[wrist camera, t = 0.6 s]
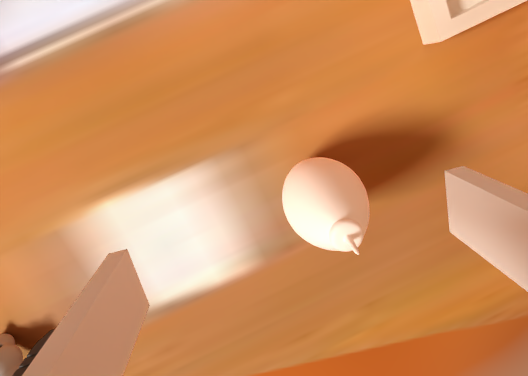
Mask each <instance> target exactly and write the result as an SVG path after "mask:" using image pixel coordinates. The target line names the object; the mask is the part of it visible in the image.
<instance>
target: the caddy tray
mask: <svg viewBox="0 0 528 376" xmlns="http://www.w3.org/2000/svg"><path fill="white" fill-rule="evenodd" d="M525 1H527V0H410V2H411V5H412V9H413V12H414V15H415V18H416V22H417V25H418V28H419V32H420V35H421V38H422V42H423V45H424V44H430V43H437V42H441V41H444V40H446V39H448V38H450V37H452V36H454V35H456V34H458V33H460V32H462V31H464V30H466V29H469V28H471V27H473V26H475V25H477V24H479V23H481V22H483V21H485V20H487V19H489V18H492V17H494V16H496V15H498V14H500V13H502V12H504V11H506V10H508V9H510V8H512V7H515V6H517V5H519V4H521V3H523V2H525Z"/></svg>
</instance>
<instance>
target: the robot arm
mask: <svg viewBox="0 0 528 376" xmlns="http://www.w3.org/2000/svg"><path fill="white" fill-rule="evenodd" d="M445 182H446V194H447V206H448V217H449V229H450V232H451V233H452V234H453V235H455V236H456V237H457V238H458V239H460V240H461V241H462V242H464V243H465V244H466V245H468V246H469V247H470V248H471V249H473V250H474V251H475V252H477V253H478V254H479V255H481V256H482V257H483V258H484V259H486V260H487V261H488V262H490V263H491V264H492V265H494V266H495V267H496V268H497V269H499V270H500V271H501V272H503V273H504V274H505V275H507V276H508V277H509V278H511V279H512V280H513V281H514V282H516V283H517V284H518V285H520V286H521V287H522V288H524V289H525V290H526V291H527V292H528V194H527V193H525V192H522V191H520V190H518V189H515V188H513V187H511V186H508V185H506V184H504V183H501V182H499V181H497V180H494V179H492V178H490V177H487V176H485V175H483V174H480V173H478V172H476V171H473V170H471V169H469V168H466V167H464V166H462V167H458V168H454V169H450V170H446V171H445ZM148 308H149V303H148V300H147V298H146V295H145V293H144V290H143V288H142V285H141V283H140V280H139V278H138V275H137V273H136V270H135V268H134V265H133V263H132V260H131V258H130V255H129V253H128V250H127V249H126V250H122V251H118V252H114V253H109V254H108V255H107V257H106V258H105V260H104V261H103V262H102V264H101V265H100V267H99V268H98V270H97V271H96V272H95V274H94V275H93V277H92V278H91V279H90V281H89V282H88V284H87V285H86V286H85V288H84V289H83V291H82V292H81V293H80V295H79V296H78V298H77V299H76V300H75V302H74V303H73V305H72V306H71V307H70V309H69V310H68V312H67V313H66V314H65V316H64V317H63V319H62V320H61V322H60V323H59V324H58V326H57V327H56V329H54V330H51V331H49V332H48V333H47V334H46V335H45V336H44V337H43V338H42V339H40V340H39V341H38V342H37V343H36V344H35V346H34V347H33V348H32V350H31V351H30V352H29V354H28V355H27V358H25V359H24V360H23V362H22V363H21V364H20V366H19V369H17V370H16V371H15V372H14V374H13V375H12V376H123V374H124V371H125V368H126V366H127V363H128V360H129V358H130V355H131V353H132V350H133V347H134V345H135V342H136V339H137V337H138V334H139V332H140V329H141V326H142V324H143V321H144V319H145V316H146V313H147V311H148Z"/></svg>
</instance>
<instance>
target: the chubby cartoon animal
mask: <svg viewBox="0 0 528 376" xmlns="http://www.w3.org/2000/svg"><path fill="white" fill-rule="evenodd" d="M22 360H23V354H22V351H21V349H20V348H19V347H18V346H16V345H15V339H14V337H13V336H12V335H10V334H6V333H5V334H3V333H2V334H0V376H12V375H13V374H14V372H15V371H16V370H17V369H19V366H20V364H21V363H22V362H23V361H22Z"/></svg>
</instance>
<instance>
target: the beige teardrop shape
mask: <svg viewBox="0 0 528 376" xmlns="http://www.w3.org/2000/svg"><path fill="white" fill-rule="evenodd" d="M282 201H283V208H284V212H285V215H286V218H287V220H288V222H289V223H290V225H291V226H292V228H293V229H294V231H295V232H296V233H297V234H298V235H299V236H301V237H302V238H303V239H304V240H306V241H307V242H309V243H311V244H313V245H314V246H317V247H320V248H323V249H326V250H333V251H352V250H353V251H354V252H355V253H356V254H357V255H359V250H358V248H357V247H359V245H360V244H361V242H362V240H363V236H364V234H365V232H366V230H367V226H368V222H369V213H370V212H369V200H368V196H367V192H366V189H365V187H364V185H363V183H362V181H361V180H360V178H359V177H358V176H357V174H356V173H355V172H354V171H353V170H352V169H351V168H349V167H348V166H346V165H345V164H343V163H341V162H339V161H336V160H334V159H329V158H324V157H315V158H309V159H306V160H303V161H301V162H299V163H298V164H296V165H295V166H294V167H293V168H292V169H291V171H290V172H289V174H288V175H287V177H286V180H285V182H284V187H283V194H282Z"/></svg>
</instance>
